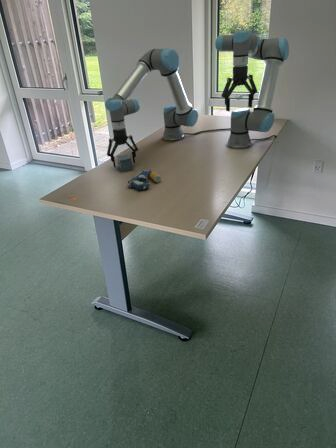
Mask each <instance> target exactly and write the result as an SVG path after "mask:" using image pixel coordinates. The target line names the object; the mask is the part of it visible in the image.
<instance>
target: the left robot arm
mask: <svg viewBox="0 0 336 448" xmlns="http://www.w3.org/2000/svg"><path fill="white" fill-rule="evenodd" d="M180 61H181V59H180V56H179V53H178V52H177V50H175V49H173V48H169V47H167V48H152V49H149V50H148V51H146V52H145V53H144V54H143V55H142V56H141V57H140V58H139V59H138V60H137V62H136V65H135V68H134V69H133V70H132V71H131V73H130V74H129V75H128V76H127V78H126V79H125V80H124V82H123V83H122V85H120V87H119V89H118V90H117V91H116V93H115V94H114V95H113V97H109V98H107V99H106V100H105V102H104V105H105V109H106V110H107V111H108V112H109V117H110V122H111V128H112V134H113V138H108V146H107V151H106V156H107V157H110V161H111V163H112V164H113V167H114V168H117V167H116V166H117V164H116V159H115V156H114V155H115V152H116V150H117V149H118V147H119V146H122V145H123V146H124V145H127V147H128V148H129V149H130V150H131V157H132V158H131V159H132V163H133V164H136V158H137V152H138V151H139V148H138V146H137V144H136V142H135V141H134V137H133V135H131V134H129V135H128V134H127V129H126V121H125V116H129V115H132V114H136V113H137V112H139V111H140V102H139V100H138V99H136V98H130V97H131V96H132V94H133V93H134V92H135V90H136V89H137V88H138V86H140V84H141V82H143V80H144V78H145V77H146V76H148V75H150V73H151V72H153V71H158V72H159V74H160V76H161V77H163V78H164V80H165V82H166V85H167V87H168V90H169V92H170V95H171V98H172V100H173V103H174V104H171V105H166V106H165V107H163V113H162V114H163V123H164V130H163V135H162V139H163V140H164V141H167V142H176V141H180V140H182V139H184V137H185V135H189V136H193V135H198V134H201V133H206V132H215V131H228V130H230V131H231V127H230V128H229V127H228V128H227V127H226V128H216V129H207V130H200V131H197V132H194V133H192V132H191V133H189V132H183V129H182V126H183V127H191V128H192V127H194V126H195V125H196V124H197V122H198V121H199V120H198V119H199V112H198V110H197V109H196V108H195V109H194V108H193V105H192V103H190V102H189V100H188V97H187V94H186V92H185V90H184V86H183V84H182V81H181V78H180V75H179V73H178V71H179V67H180ZM129 98H130V99H129ZM128 140H130V143H131V144H132V145H133V147H132V146H131V144H130V143H129V142H128ZM113 143H114V144H113ZM112 146H113V147H112Z"/></svg>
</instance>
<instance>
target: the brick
mask: <svg viewBox="0 0 336 448" xmlns="http://www.w3.org/2000/svg"><path fill="white" fill-rule="evenodd" d="M116 162H117V167H118V170H120V171H121V173H124V172H129V171H133V165H132V158H131V157H130V156H129V154H128V153H125V154H119V155H116Z"/></svg>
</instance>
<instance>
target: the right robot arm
mask: <svg viewBox="0 0 336 448" xmlns="http://www.w3.org/2000/svg"><path fill="white" fill-rule="evenodd" d="M214 44H215V50H216V51H218V52H229V53H232V77H227V78H226V83H225V86H224V88H223V91H222V93H221V95H220V96H221V98H224V105H225V111H226V112H231V113H230V128H231V130H230V135H229V137H228V139H227V146H228V147H229V148H232V149H246V148H249V147H251V145H252V141H264V140H269V139H272V138H274V137H275V138H277V135H276V134H272V135H270V136H268V137H264V138H251V136H250V133H249V131H250V132H258V133H267V132H269V131H270V130H271V129H272V127H273V125H274V121H275V113H274V112H273V111H274V110H273V109H272V103H273V99H274V94H275V90H276V85H277V81H278V76H279V71H280V67H281V66H283V64H284V61H286V60H288V58H289V54H290V43H289V41H288V39H287V38H286V37H272V38H271V37H270V38H260V36H259V35H258V34H257V33H255V32H251V33H250V30H247V29H244V30H243V29H242V30H236V31H234V33H233V34H222V35H217V36H216V38H215V43H214ZM249 59H253V60H256V61H262V63H263V64H264V68H263V69H264V70H263V74H262V79H261V82H260V88H259V93H258V88H257V86H256V83H255V80H254V74H251V73H249V66H248V65H249ZM247 80H248V81H247ZM240 86H244V87H245V89H246V90H247V91H248V93H249V94H248V99H247V102H248V103H247V107H241V108H236V109H234V110H232V111H231V98H230V97H231V96H232V93H233V92H234V90H235V89H236V88H237V87H240ZM256 93H258V98H257V101H256V105H255V106H254V107H253V101H254V100H255V99H254V98H255V95H256ZM251 108H253V110H250V109H251Z"/></svg>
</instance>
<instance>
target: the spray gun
mask: <svg viewBox="0 0 336 448" xmlns="http://www.w3.org/2000/svg"><path fill="white" fill-rule="evenodd" d="M149 179H150V180H152V181H153V182H154V183H160V182H161V180H162V177H161V175H159V174H158V173H157V172H155V171H152V169H141V170H140V171H139V172H138V173H137V174H136V175H134V176H133V177H132V178H130V179H129V180H128V181H127V184H126V187H129V188H134V189H135V190H138V191H141V190H142V191H143V190H147V189H148V188H149V187H150V182H149Z"/></svg>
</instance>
